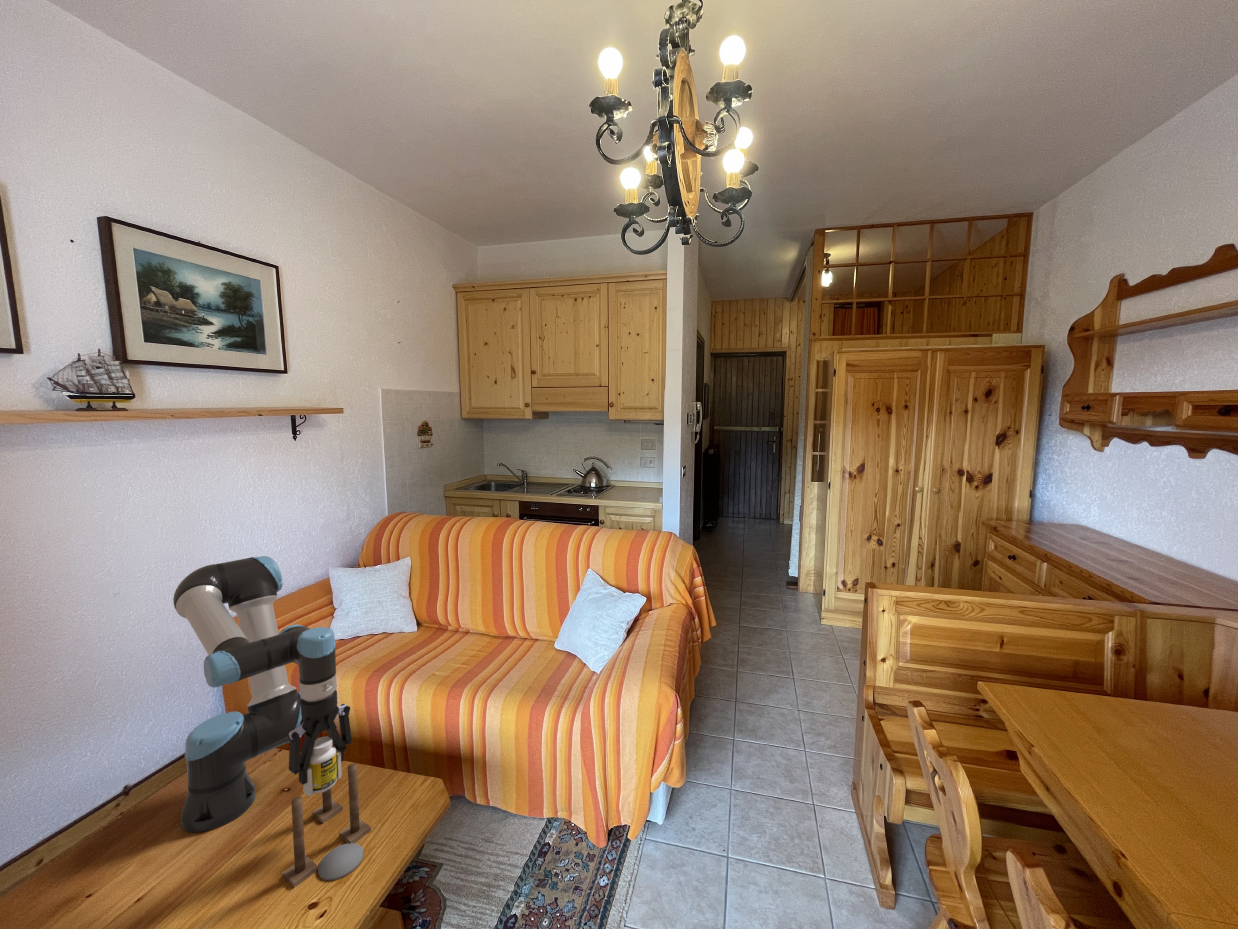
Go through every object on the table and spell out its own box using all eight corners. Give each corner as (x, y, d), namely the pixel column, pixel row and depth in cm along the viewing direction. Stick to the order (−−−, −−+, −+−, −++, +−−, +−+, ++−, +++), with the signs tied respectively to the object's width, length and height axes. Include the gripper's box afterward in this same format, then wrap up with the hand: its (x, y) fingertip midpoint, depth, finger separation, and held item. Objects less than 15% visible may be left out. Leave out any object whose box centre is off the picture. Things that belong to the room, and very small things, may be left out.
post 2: (312, 815, 125) (309, 750, 124) (332, 802, 129) (329, 740, 128) (322, 823, 122) (319, 757, 121) (342, 810, 126) (339, 746, 125)
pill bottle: (323, 796, 115) (321, 752, 114) (301, 792, 116) (299, 749, 115) (343, 778, 121) (341, 736, 120) (321, 774, 122) (319, 732, 121)
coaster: (310, 868, 110) (310, 865, 110) (349, 839, 117) (349, 837, 117) (331, 887, 105) (331, 885, 105) (371, 856, 113) (371, 854, 113)
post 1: (282, 877, 108) (278, 802, 106) (306, 859, 112) (303, 788, 111) (294, 888, 105) (290, 812, 104) (318, 870, 109) (314, 796, 108)
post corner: (339, 836, 118) (336, 768, 117) (359, 822, 123) (356, 756, 121) (351, 845, 116) (348, 776, 114) (370, 830, 120) (368, 763, 119)
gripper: (283, 719, 106) (288, 818, 108) (366, 680, 123) (369, 766, 125) (266, 709, 110) (271, 804, 112) (349, 672, 127) (352, 756, 128)
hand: (322, 784), depth 118 cm, fingers closed on pill bottle, 6 cm apart
